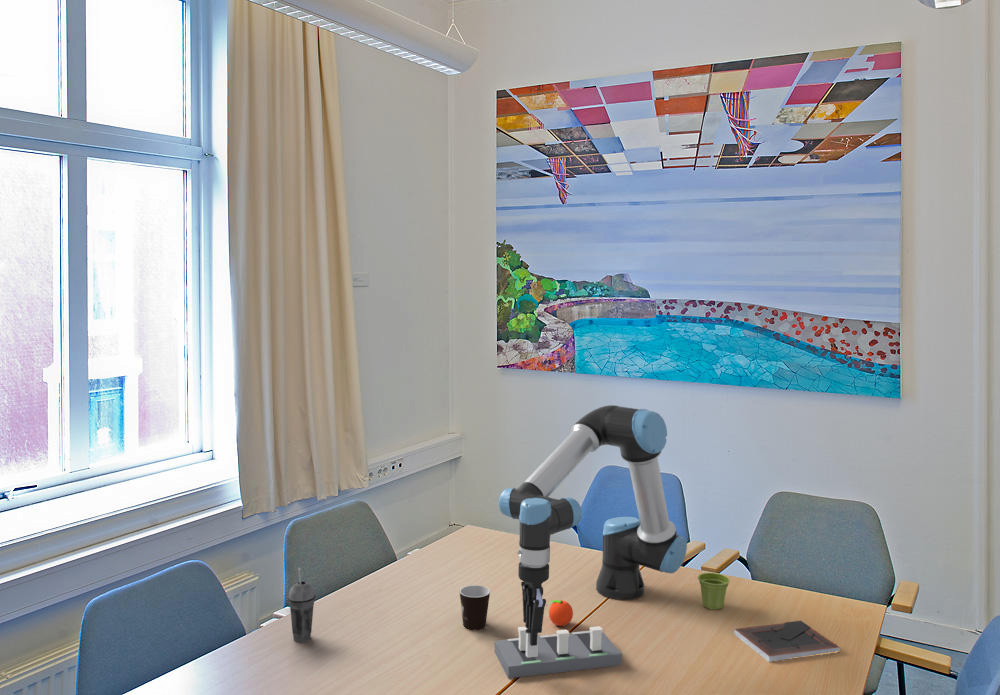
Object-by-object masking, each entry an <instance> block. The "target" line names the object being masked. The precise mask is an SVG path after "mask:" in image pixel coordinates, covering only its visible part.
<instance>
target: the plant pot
mask: <svg viewBox="0 0 1000 695" xmlns="http://www.w3.org/2000/svg"><path fill="white" fill-rule="evenodd" d="M697 579H698V581H699V586H700V591H701V592H700V593H701V602H702V606H703V607H705V608H707V609H708V608H709V610H713V609H714V611H715V610H718V609H723V608H724V604H725V599H726V593H727V589H728V586H729V584H730V581H731V580H730V577H728V576H727V575H724V574H721V573H716V572H704V573H700V574H698V576H697Z"/></svg>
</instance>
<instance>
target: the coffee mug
mask: <svg viewBox="0 0 1000 695" xmlns="http://www.w3.org/2000/svg"><path fill="white" fill-rule="evenodd" d="M490 594H491V589H490V588H489V587H486V586H483V585H477V584H471V585H465V586H462V587H461V588H460V590H459V599H460V609H461V618H462V619H461V620H462V626H464V627H465V628H464V627H463V628H464V629H466V630H468V629H469V631H481V630H483V629H484V627H485V628H486V626H487V619H488V618H487V617H488V609H489V604H490V603H489V601H490ZM480 629H481V630H480Z"/></svg>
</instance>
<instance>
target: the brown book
mask: <svg viewBox="0 0 1000 695" xmlns="http://www.w3.org/2000/svg"><path fill="white" fill-rule="evenodd" d="M734 634H735V636H736V638H738V639H739V638H740V639H739V640H741V641H742V642H744V644H746V645H747V646H748V647H750V648H751V649H752V650H753V651H754V650H755V652H756V653H757V654H758V653H759V654H758V655H760V657H762V658H763V659H764V658H765V660H766V661H767V662H768V661H769V662H768V663H772V661H775V662H778V661H777V660H782V661H785V660H784V659H789V658H794V657H802V656H809V655H816V654H821V653H828V652H835V651H840V652H841V647H840V646H839V645H838V644H836V643H834V642H833V641H832V640H830V639H828V638H827V637H825V636H824V635H823V634H821V633H819V632H818V631H816V630H815V629H814V628H812V627H811V626H810V625H808V624H807V623H805V622H803V621H802V620H795V621H785V622H782V623H773V624H765V625H756V626H748V627H739V628H734V630H733V635H734Z"/></svg>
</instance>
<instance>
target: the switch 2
mask: <svg viewBox="0 0 1000 695" xmlns="http://www.w3.org/2000/svg"><path fill="white" fill-rule="evenodd" d="M603 630H604V629H603V628H602V627H601V626H600V625H598V626H589V630H588V631H590V649H591V650H592V651H596V650H601V635H602V633H604V631H603Z"/></svg>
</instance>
